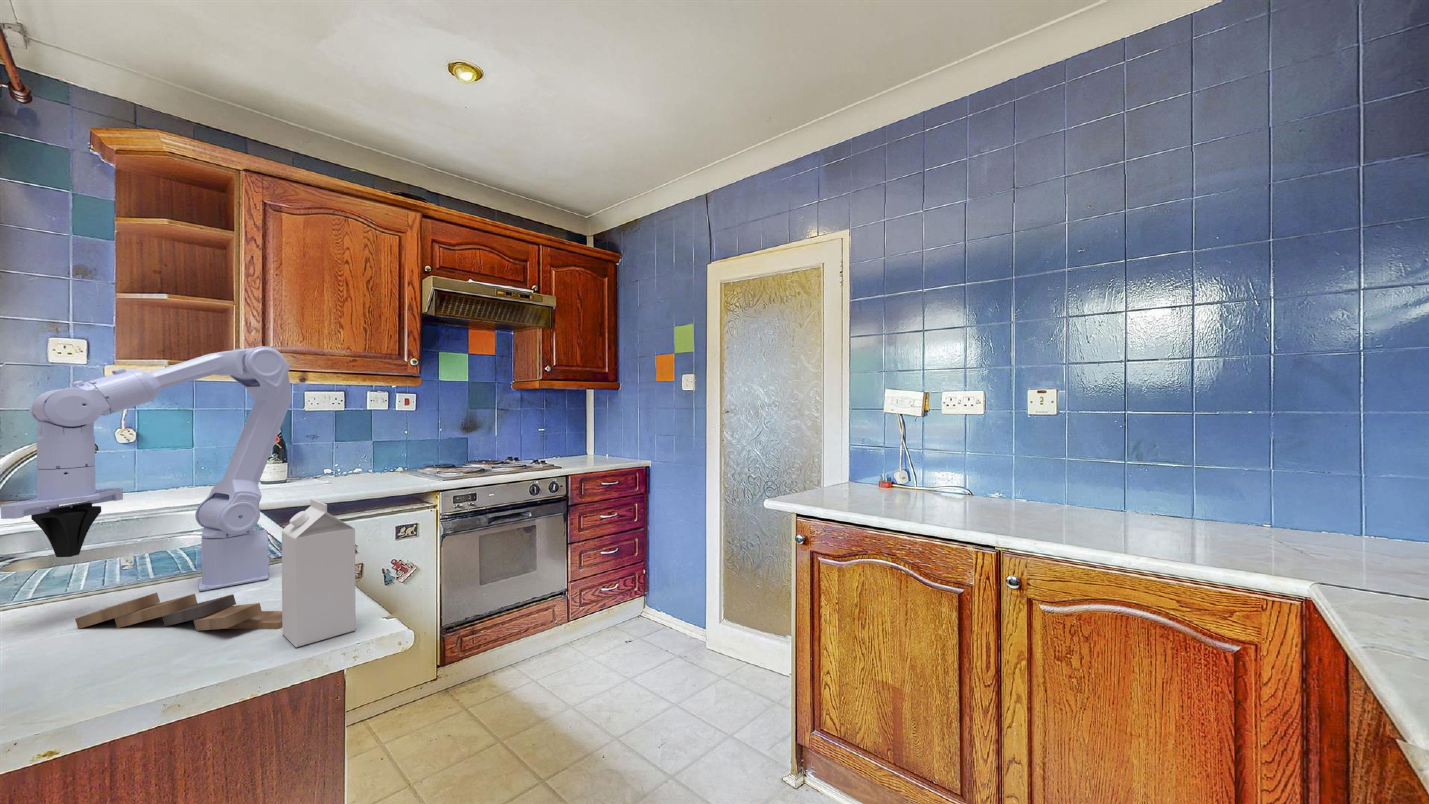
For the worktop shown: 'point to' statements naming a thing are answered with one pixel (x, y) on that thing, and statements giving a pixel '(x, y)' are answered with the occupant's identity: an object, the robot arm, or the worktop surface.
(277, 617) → the domino
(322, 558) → the milk carton
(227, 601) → the ebony domino
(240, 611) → the domino
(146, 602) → the domino
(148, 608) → the domino
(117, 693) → the worktop surface
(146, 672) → the worktop surface
